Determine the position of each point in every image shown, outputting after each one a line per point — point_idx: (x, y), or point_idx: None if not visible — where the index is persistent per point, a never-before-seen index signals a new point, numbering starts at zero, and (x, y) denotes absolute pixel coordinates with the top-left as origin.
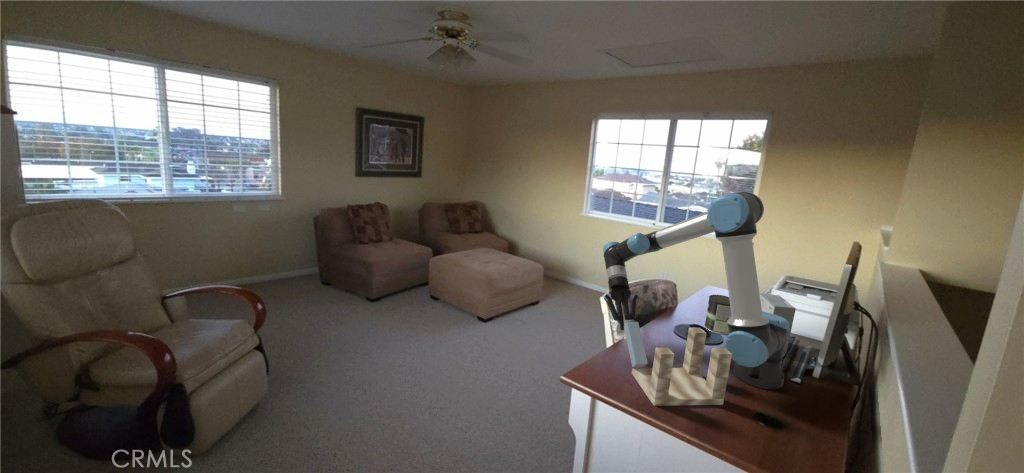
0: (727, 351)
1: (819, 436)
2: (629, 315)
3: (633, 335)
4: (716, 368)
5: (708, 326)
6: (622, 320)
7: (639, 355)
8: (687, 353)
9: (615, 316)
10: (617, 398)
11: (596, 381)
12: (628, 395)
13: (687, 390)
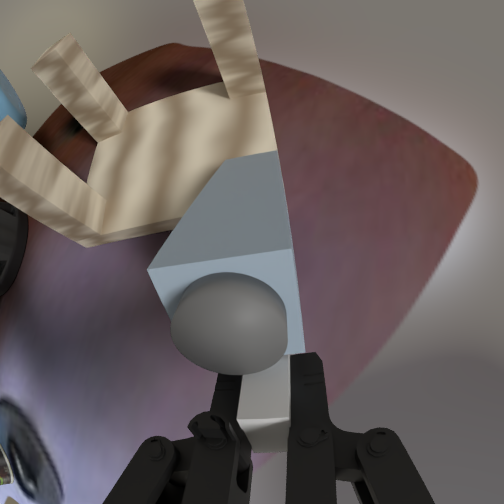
0: (43, 54)
1: (58, 115)
2: (196, 474)
3: (255, 190)
4: (89, 60)
5: (2, 463)
6: (303, 429)
7: (252, 160)
8: (62, 192)
9: (401, 444)
10: (351, 95)
11: (412, 153)
12: (321, 105)
13: (157, 122)
